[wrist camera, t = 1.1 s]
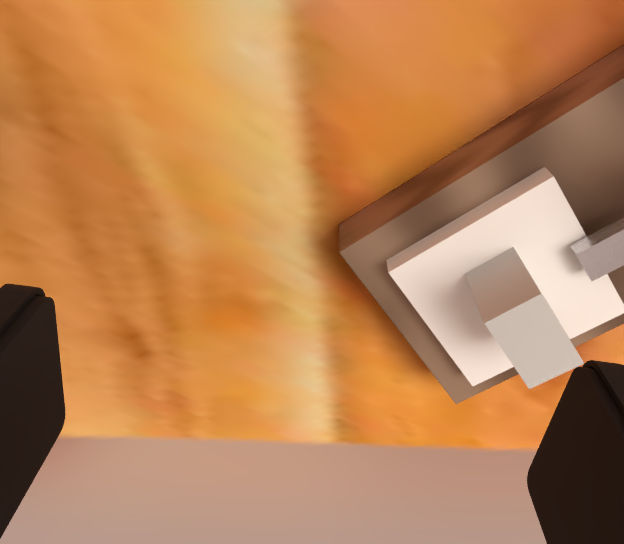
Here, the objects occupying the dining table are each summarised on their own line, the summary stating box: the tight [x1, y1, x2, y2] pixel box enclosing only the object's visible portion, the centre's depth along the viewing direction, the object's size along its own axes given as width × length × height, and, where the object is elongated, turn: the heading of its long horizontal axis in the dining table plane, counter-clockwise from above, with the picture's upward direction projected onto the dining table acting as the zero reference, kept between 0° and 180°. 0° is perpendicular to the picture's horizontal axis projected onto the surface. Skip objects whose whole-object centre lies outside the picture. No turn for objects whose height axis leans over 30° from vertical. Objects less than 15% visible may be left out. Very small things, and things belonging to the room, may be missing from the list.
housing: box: [339, 45, 624, 404], centre depth 35 cm, size 24×14×4 cm, turn 126°
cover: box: [386, 167, 624, 389], centre depth 32 cm, size 10×10×6 cm
